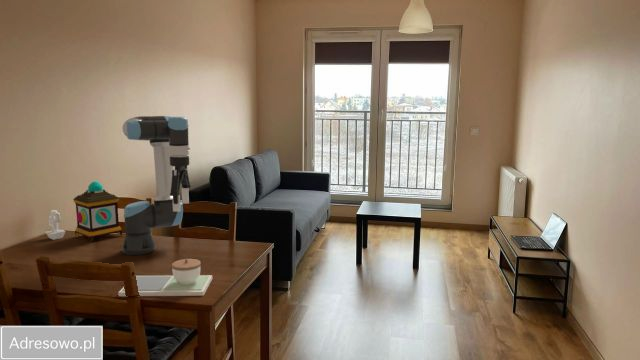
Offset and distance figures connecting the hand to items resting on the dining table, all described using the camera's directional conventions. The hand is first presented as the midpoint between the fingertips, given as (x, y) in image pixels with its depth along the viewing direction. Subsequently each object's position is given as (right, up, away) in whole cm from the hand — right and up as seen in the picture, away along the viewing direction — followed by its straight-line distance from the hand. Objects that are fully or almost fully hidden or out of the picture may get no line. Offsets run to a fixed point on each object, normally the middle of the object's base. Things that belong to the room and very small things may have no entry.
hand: (181, 207), depth 192 cm
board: (-2, -30, -11) cm, 32 cm away
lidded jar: (+5, -29, -10) cm, 31 cm away
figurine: (-82, -20, +55) cm, 101 cm away
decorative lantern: (-61, -19, +59) cm, 87 cm away
